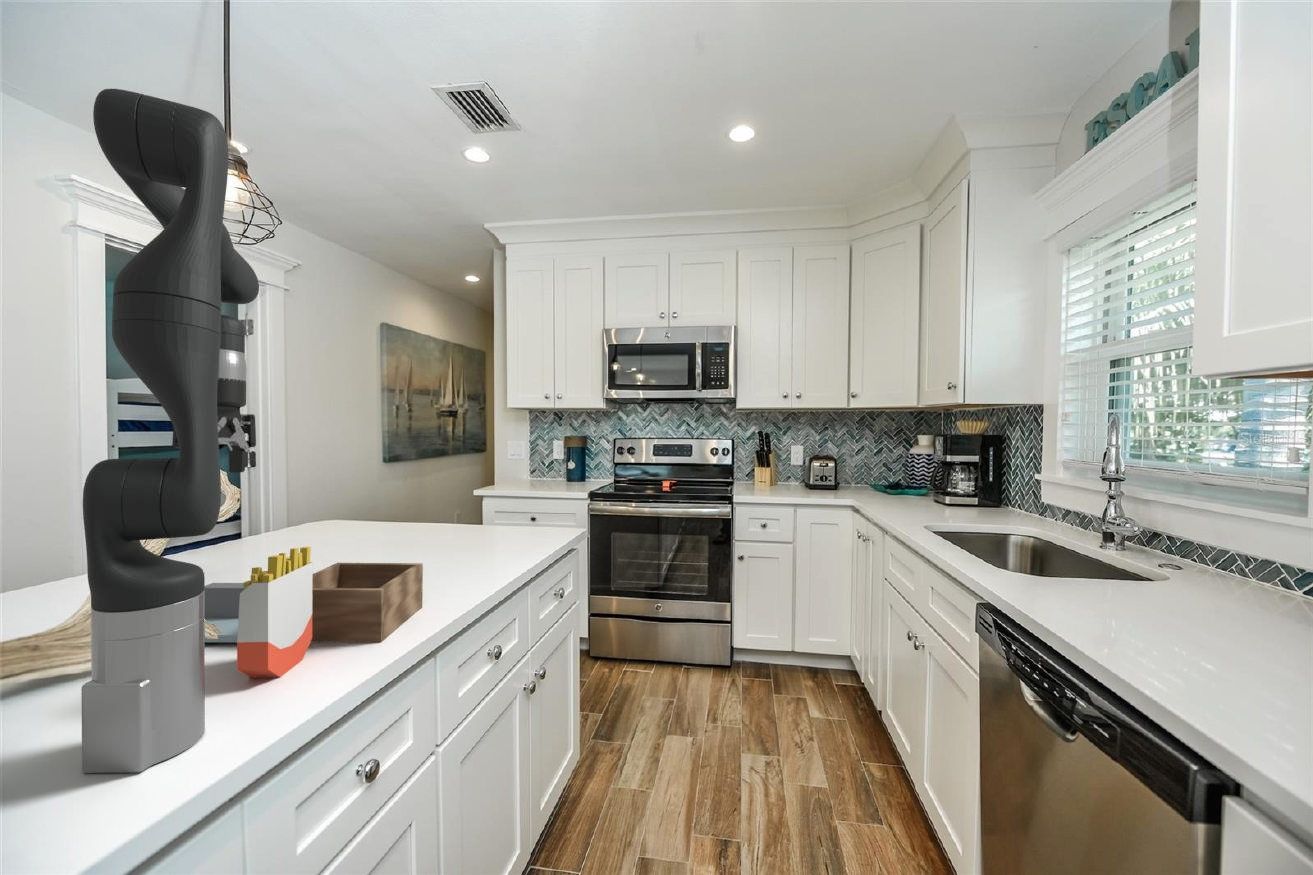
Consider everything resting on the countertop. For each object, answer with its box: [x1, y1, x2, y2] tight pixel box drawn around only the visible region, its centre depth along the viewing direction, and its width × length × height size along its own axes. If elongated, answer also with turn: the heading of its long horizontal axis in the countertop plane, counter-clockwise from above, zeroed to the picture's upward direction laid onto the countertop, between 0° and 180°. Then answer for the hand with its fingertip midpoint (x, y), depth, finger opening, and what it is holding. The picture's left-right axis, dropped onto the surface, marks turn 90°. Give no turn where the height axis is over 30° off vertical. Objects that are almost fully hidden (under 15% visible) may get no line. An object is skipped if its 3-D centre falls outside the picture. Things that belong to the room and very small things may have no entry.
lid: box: [204, 582, 244, 643], centre depth 94 cm, size 18×18×8 cm
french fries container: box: [236, 546, 313, 679], centre depth 78 cm, size 5×11×18 cm, turn 5°
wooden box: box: [310, 562, 424, 643], centre depth 96 cm, size 17×17×9 cm
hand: (217, 473), depth 87 cm, fingers open, 8 cm apart
